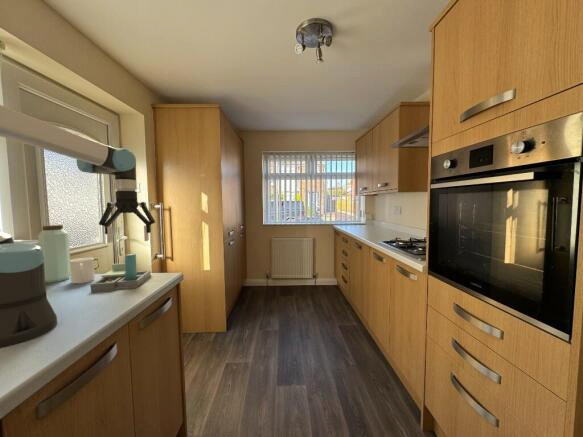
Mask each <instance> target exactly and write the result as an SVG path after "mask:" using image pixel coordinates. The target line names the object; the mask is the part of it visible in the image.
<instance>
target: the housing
mask: <svg viewBox="0 0 583 437" xmlns="http://www.w3.org/2000/svg"><path fill="white" fill-rule="evenodd" d="M136 272H137V280H129V281H126V279H125V275H124V276H114V277H101V278H99V279H98V280H96V281H94V282H93V283H92V282H91V284H90V292H91V293H93V292H108V291H119V290H121V291H122V290H131V289H132V290H133V289H138V288H139V286H141V285H142V284H144V283H145V282H146V281H147V280H148V279H149V278H150V276H151V277H152V274H151V270H142V271H136ZM144 281H145V282H144Z"/></svg>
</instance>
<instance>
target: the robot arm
mask: <svg viewBox="0 0 583 437" xmlns="http://www.w3.org/2000/svg"><path fill="white" fill-rule="evenodd" d="M0 137H2V138H5V139H8V140H12V141H15V142H18V143H22V144H25V145H28V146H33V147H36V148H39V149H42V150H45V151H49V152H52V153H54V154H59V155H61V156H65V157H69V158H72V159H75V160H76V167H77V168H78V170H79V171H80V172H82V173H88V174H95V175H96V174H98V175H111V176H114V189H115V190H116V191H115V192H114V193H115V202H109V201H108V202H107V203H106V208H105V209H104V210H105V211H104V212H103V214H102V216H101V218H100V221H99V222H98V225H99V226H103V227H104V234H105V235H107V243H113V242H114V231H113V228H114V227H113V225H112V224H113V223H114V222H115V221H116V220H117V218H118V217H119V216H120V215H121V214H132V213H133V214H134V215H135V216H137V218H138V219H140V220H141V222H142V223H144V224H145V225H144V226H143V234H144V236H143V237H144V242H148V241H149V239H150V237H149V234H150V233H151V232H152V229H151V227H152V226H151V225H153V224H155V223H156V221H155V218H154V216H152V213H151V212H150V210H149V208H148V207H147V202H146V201H141V202H139V201H138V192H137V189H138V187H137V186H138V185H137V183H138V182H137V159H136V158H137V157H136V156H135V154H134V153H133V152H132V151H131V150H129V149H127V148H120V147H119V148H115V147H112V146H110V145H107V144H104V143H102V142H100V141H99V142H98V141H96V140H93V139H91V138H89V137H85V136H83V135H80V134H78V133H75V132H72V131H69V130H68V129H65V128H63V127H59V126H57V125H54V124H52V123H49V122H46V121H44V120H41V119H39V118H36V117H33V116H31V115H28V114H24V113H22V112H20V111H17V110H14V109H12V108H9V107H7V106H4V105H1V104H0ZM115 207H116V209H115V211H114V213H112V212H113V209H114V208H115ZM138 207H139V208H141V209H142V212H144V214H145V216H144V215H143V213H141V211H140V210H139V209H138ZM111 213H112V214H111ZM110 215H111V216H110ZM44 260H45V257H44V254H43V250H42V248H41V247H40V246H39V244H34V243H30V242H29V243H27V242H26V243H24V242H15V241H14V239H13V236H12V235H11V234H8V233H5V232H3V231H1V230H0V348H3V347H8V346H12V345H15V344H19V343H22V342H26V341H29V340H31V339H34V338H36V337H40V336H42V335H44V334H46V333H48V332H50V331H51V330H53V329H54V328H56V326H57V325H58V316H57V313H56V312H55V310H54V309H53V306H52V305H51V302H50V301H49V300H48V296H47V284H46V283H47V282H46V280H45V265H44Z"/></svg>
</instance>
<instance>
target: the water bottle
mask: <svg viewBox="0 0 583 437" xmlns="http://www.w3.org/2000/svg"><path fill="white" fill-rule="evenodd" d="M63 225H64V224H53V225H52V224H50V225H42V230H41V232H39V233H38V235H37V238H38V239H37V240H38V246H40V247H41V248H42V250H43V254H44V257H45V260H44V265H45V280H46V283H48V284H49V283H57V282H58V283H59V282H62V281H66V280H68V279H69V278H71V270H70V261H71V255H70V254H71V253H70V252H71V251H70V242H69V241H70V239H69V238H70V236H69V232H68V231H66V230H65V229H64V226H63Z"/></svg>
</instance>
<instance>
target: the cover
mask: <svg viewBox="0 0 583 437" xmlns="http://www.w3.org/2000/svg"><path fill="white" fill-rule="evenodd" d="M111 265H112V269H111V270H109V271H107V272H106V273H104V274H102V275H101V278H103V277H114V276H124V275H125V262H124V263H121V262H120V263H112V264H111Z"/></svg>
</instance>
